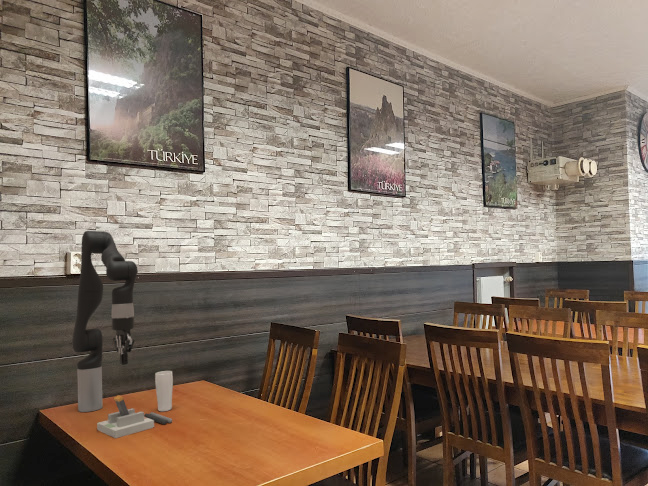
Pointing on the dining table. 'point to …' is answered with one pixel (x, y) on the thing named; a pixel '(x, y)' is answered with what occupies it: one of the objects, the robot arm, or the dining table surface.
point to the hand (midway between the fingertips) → (124, 364)
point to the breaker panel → (125, 429)
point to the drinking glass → (164, 390)
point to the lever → (121, 405)
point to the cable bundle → (158, 418)
